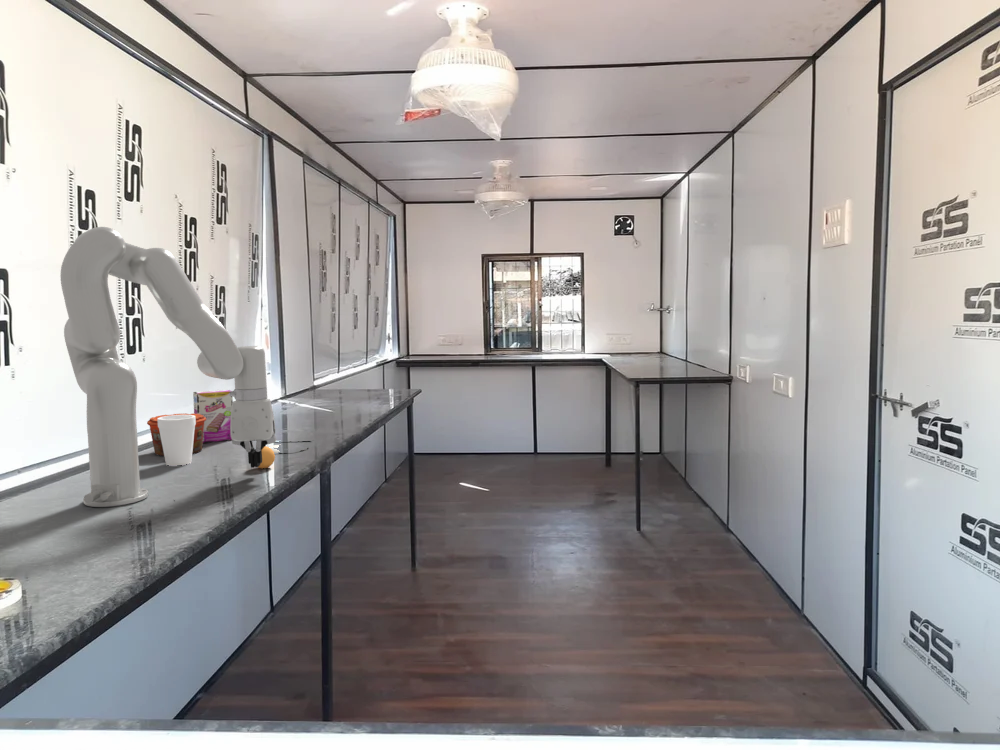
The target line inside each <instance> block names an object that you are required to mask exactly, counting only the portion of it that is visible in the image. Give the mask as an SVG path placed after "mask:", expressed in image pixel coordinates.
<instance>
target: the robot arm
mask: <svg viewBox="0 0 1000 750" xmlns="http://www.w3.org/2000/svg"><path fill="white" fill-rule="evenodd" d="M62 260H63V261H62V263H61V267H60V276H59V277H60V285H61V291H62V294H63V298H64V299H63V300H64V304H65V308H66V312H67V316H68V319H67V320H66V322H65V325H64V327H63V337H64V343H65V346H66V350H67V353H68V356H69V361H70V364H71V366H72V367H71V368H72V370H73V375H74V377H75V380H76V383H77V385H78V386H79V388H80V389H81V391H82V392H83V393H85V395H86V429H87V430H86V431H87V445H88V447H87V448H88V462H89V479H90V492H89V493H86V494H85V495H84V496H83V499H82V501H83V505H85V506H87V507H93V508H107V507H108V508H109V507H118V506H124V505H130V504H133V503H134V504H135V503H137V502H140V501H143V500H145V499H146V498H148V496H149V491H148V489H147V488H143V487H141V481H140V479H141V478H140V461H139V444H138V443H139V441H138V427H137V397H138V395H137V394H138V382H137V377H136V375H135V373H134V371H133V369H132V368H131V367H130V366H129V365H128V364H127V363H125V362H124V361H122V360H120V358H119V355H118V351H117V346H118V344H119V343H120V340H121V330H120V325H119V323H118V320H117V317H116V314H115V310H114V306H113V302H112V299H111V295H110V293H111V292H110V289H109V282H108V279H109V276H112V277H115V278H119V279H121V280H124V281H127V282H132V283H135V284H139V285H143V286H146V288H148V290H149V292H150V293H151V294H152V296H153V297H154V299H155V301H156V302H157V304H158V305H159V307H160V308H161V310H162V311H163V313H164V315H165V317H166V318H167V320H169V322H170V323H172V325H173V326H175V328H176V329H178V330H180V331H182V332H183V333H184V334H185V335H186V336H188V337H189V338H190V340H192V341H193V343H194V344H195V345H196V346H197V347H198V349H199V350H200V353H199V354H198V357H197V359H196V360H197V361H196V364H197V368H198V369H199V371H200V372H201V373H202V374H203V375H205V376H208V377H210V378H214V379H219V380H232V379H234V390H230V396H233V398H234V400H233V402H232V408H231V427H230V430H231V438H232V440H231V443H232V445H236V446H240V447H242V448H243V449H244V450H245V451H246V453H247V456H248V457H247V458H248V459H247V460H248V464H249V465H250V468H251V469H252V468H258V467H259V466H260V463H262V449H263V448H264V447H265V446H268V445H271V444H274V442H276V441H277V437H276V424H275V423H276V422H275V416H274V411H273V406H272V402H271V399H270V398H268V387H267V369H266V368H267V366H266V353H265V349H264V348H263V347H262V346H258V345H242V346H238V347H237V345H236V343H235V342H234V340H233V339H232V336H231V335H230V334H229V332H228V331H227V329H226V328H225V327H224V325H223V324H222V322H220V320H219V319H218V318H217V317H216V316H215V315H214V314H213V313H212V311H211V310H210V309H209V307H207V305H206V304H205V303H204V302H203V300H202V299H201V297H200V296H199V293H198V292H197V291H196V289H195V287H194V286H193V283H191V281H190V279H189V278H188V276H187V274H186V273H185V271H184V269H183V268H182V266H181V264H180V262H179V261H178V259H177V258H176V257H175V255H173V253H172V252H170V251H169V250H168V249H165V248H161V247H151V248H150V247H149V248H144V247H140V246H137V245H134V244H131V243H128V242H125V240H124V237H123V236H122V235H121V234H120V233H119V231H117V230H115V229H113V228H111V227H106V226H98V227H92V228H91V229H88V230H86V231H85V232H82V233H81V234H79V235H78V236H77V238H75V240H74V242H73V243H72V244H71V245H70V246H69V248H68V249H67V252H66V253H65V256H64V258H63V259H62ZM253 441H256V442H255V443H256V444H255V447H254V442H253Z"/></svg>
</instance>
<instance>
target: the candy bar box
mask: <svg viewBox="0 0 1000 750" xmlns="http://www.w3.org/2000/svg"><path fill="white" fill-rule="evenodd" d="M230 391H231V390H230V389H220V390H219V389H217V390H201V391H200V390H199V391H193V414H201V415H203V416H204V417H205V418H206V421H205V422H204V430H203V443H202V444H206V443H216V442H222V441H223V442H224V441H232V438H231V430H230V427H231V408H232V402H233V401H234V399H233V398H234V397H233V396H230Z"/></svg>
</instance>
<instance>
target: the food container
mask: <svg viewBox="0 0 1000 750" xmlns="http://www.w3.org/2000/svg"><path fill="white" fill-rule="evenodd" d="M171 415H194V416H195V419H196V425H195V430H194V441H193V451H192V455H195V454H197V453H200V452H201V451H202V450H203V444H204V443H203V430H204V422H205V421H206V418H205V417H204V416H203V415H201V414H194V413H173V414H162V415H156V416H153V417H150V418H149V420H147V421H146V422H147V423H146V424H147V425H148V426H149V430H150V431H149V432H150V435H151V436H150V437H151V440H152V445H153V450H154V454H155V455H156V456H158V455H160V456H159V457H165V456H164V451H163V446H162V441H161V436H160V431H159V428H158V420H157V418H159V417H164V416H171ZM194 453H195V454H194Z"/></svg>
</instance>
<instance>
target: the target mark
mask: <svg viewBox="0 0 1000 750" xmlns="http://www.w3.org/2000/svg"><path fill="white" fill-rule="evenodd" d="M279 445H280V444H275V445H274V444H273V445H269V447H274V448H278V447H279ZM271 449H272V450H273V452H274V453H278V452H280V451H279V450H277V449H273V448H271Z"/></svg>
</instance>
